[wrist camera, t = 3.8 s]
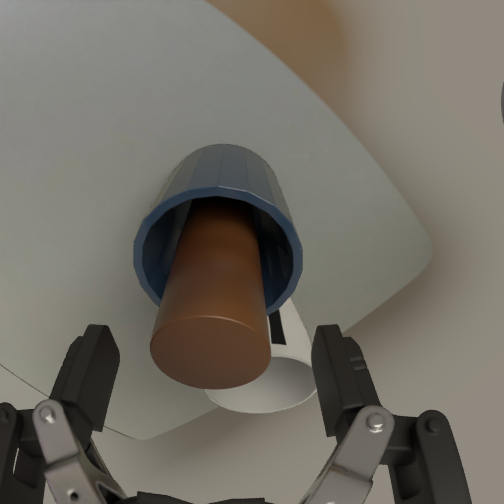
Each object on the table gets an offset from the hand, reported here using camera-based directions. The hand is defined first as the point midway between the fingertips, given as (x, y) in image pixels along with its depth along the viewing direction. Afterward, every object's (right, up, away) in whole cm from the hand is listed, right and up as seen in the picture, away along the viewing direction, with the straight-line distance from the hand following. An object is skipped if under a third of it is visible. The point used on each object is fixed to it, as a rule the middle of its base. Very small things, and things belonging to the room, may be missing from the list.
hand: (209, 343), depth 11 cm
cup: (+2, -1, +17) cm, 17 cm away
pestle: (-1, +7, +11) cm, 13 cm away
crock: (-1, +7, +12) cm, 14 cm away
